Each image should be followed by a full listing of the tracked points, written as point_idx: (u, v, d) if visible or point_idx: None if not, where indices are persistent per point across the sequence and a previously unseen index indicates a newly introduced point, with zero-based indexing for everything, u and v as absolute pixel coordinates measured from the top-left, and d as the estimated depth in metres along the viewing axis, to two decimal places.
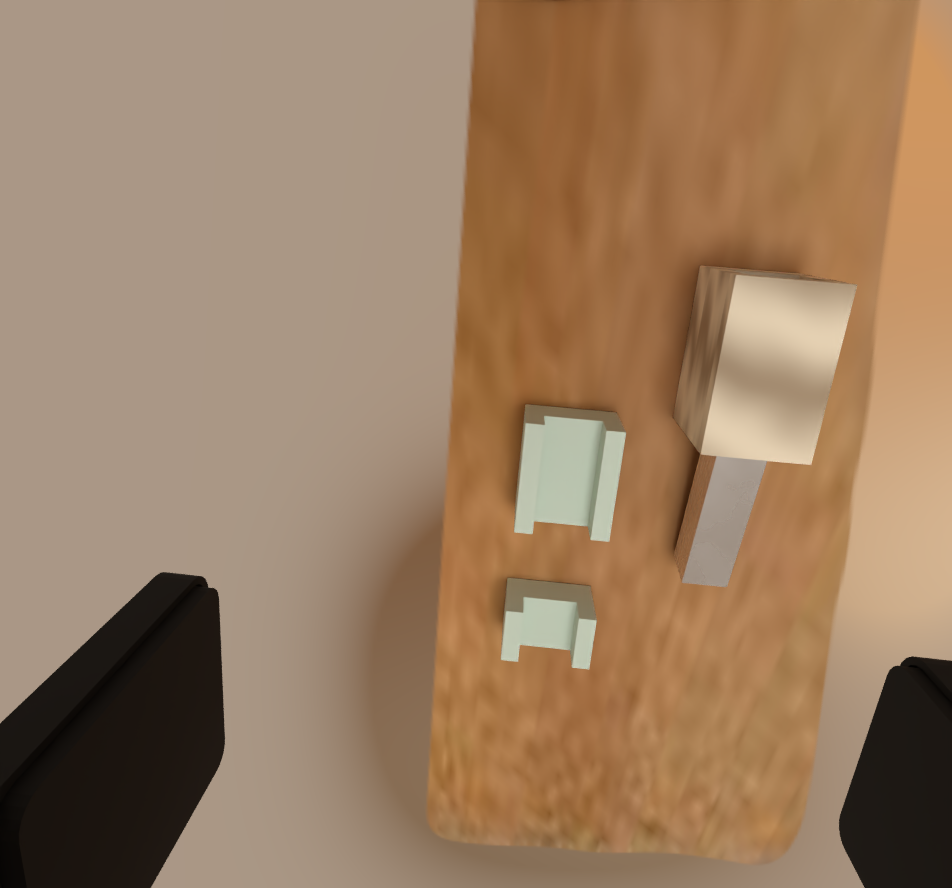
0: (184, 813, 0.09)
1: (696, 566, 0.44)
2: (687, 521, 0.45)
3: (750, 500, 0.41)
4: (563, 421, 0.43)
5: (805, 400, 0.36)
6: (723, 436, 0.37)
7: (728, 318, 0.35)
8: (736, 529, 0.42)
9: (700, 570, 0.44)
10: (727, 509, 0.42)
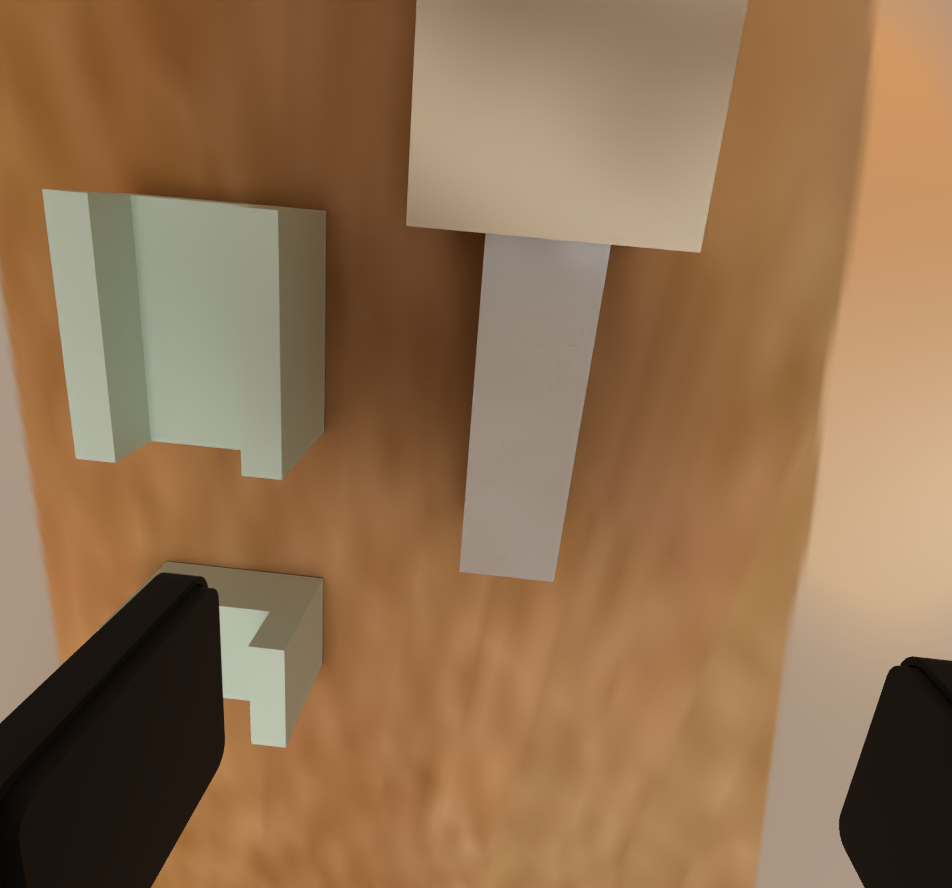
0: (184, 813, 0.09)
1: (483, 537, 0.20)
2: None
3: (578, 378, 0.17)
4: (175, 207, 0.19)
5: (675, 46, 0.13)
6: (460, 169, 0.14)
7: None
8: (556, 451, 0.19)
9: (492, 546, 0.20)
10: (530, 403, 0.18)
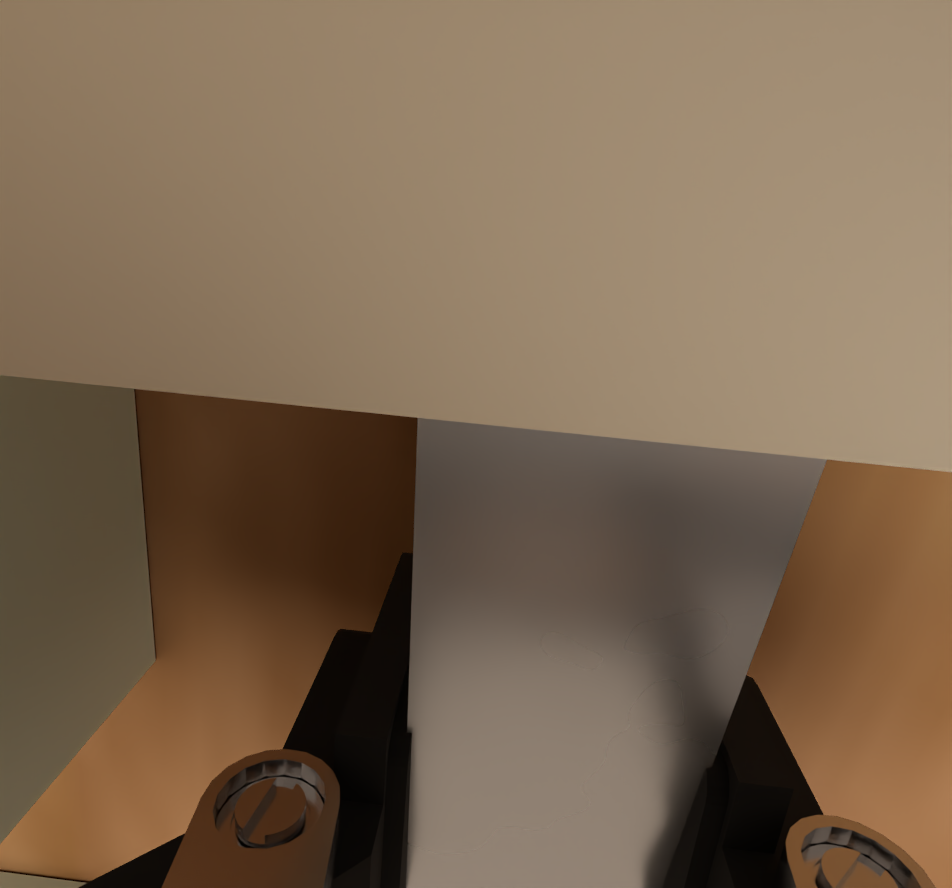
0: None
1: None
2: None
3: (699, 729, 0.06)
4: None
5: None
6: (214, 82, 0.02)
7: None
8: (624, 863, 0.07)
9: None
10: (560, 770, 0.07)
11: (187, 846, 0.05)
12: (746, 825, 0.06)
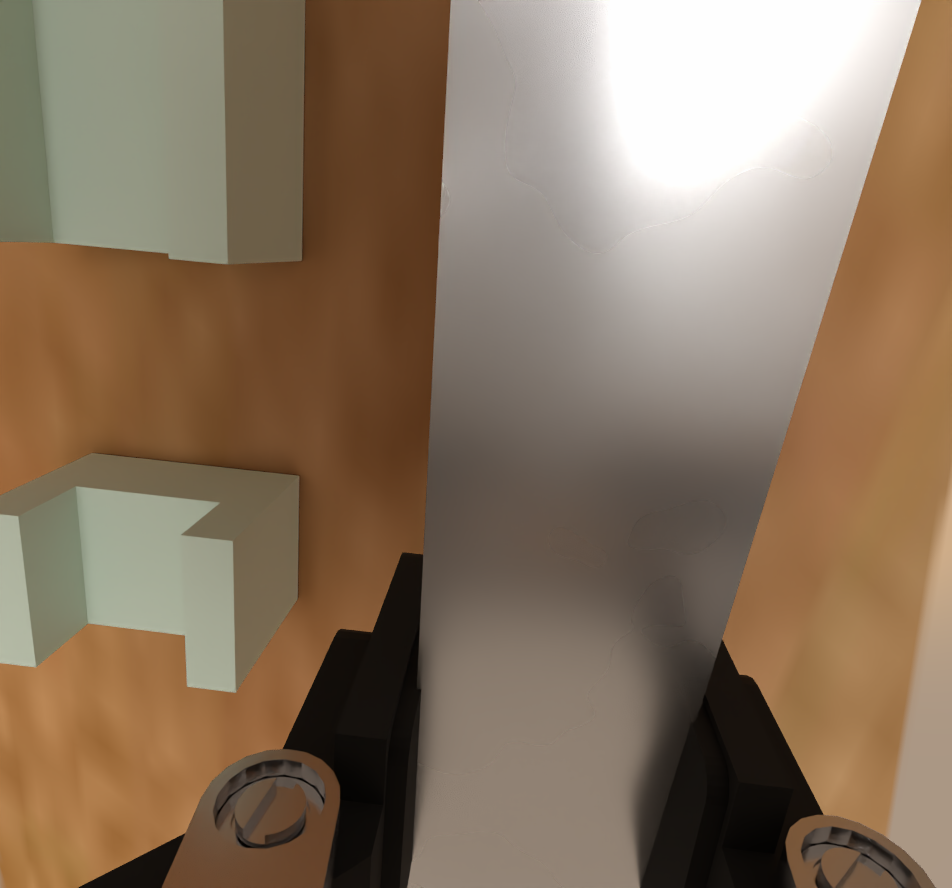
0: None
1: None
2: None
3: (699, 629, 0.07)
4: None
5: None
6: None
7: None
8: (628, 780, 0.08)
9: None
10: (565, 679, 0.07)
11: (188, 846, 0.05)
12: (746, 825, 0.06)
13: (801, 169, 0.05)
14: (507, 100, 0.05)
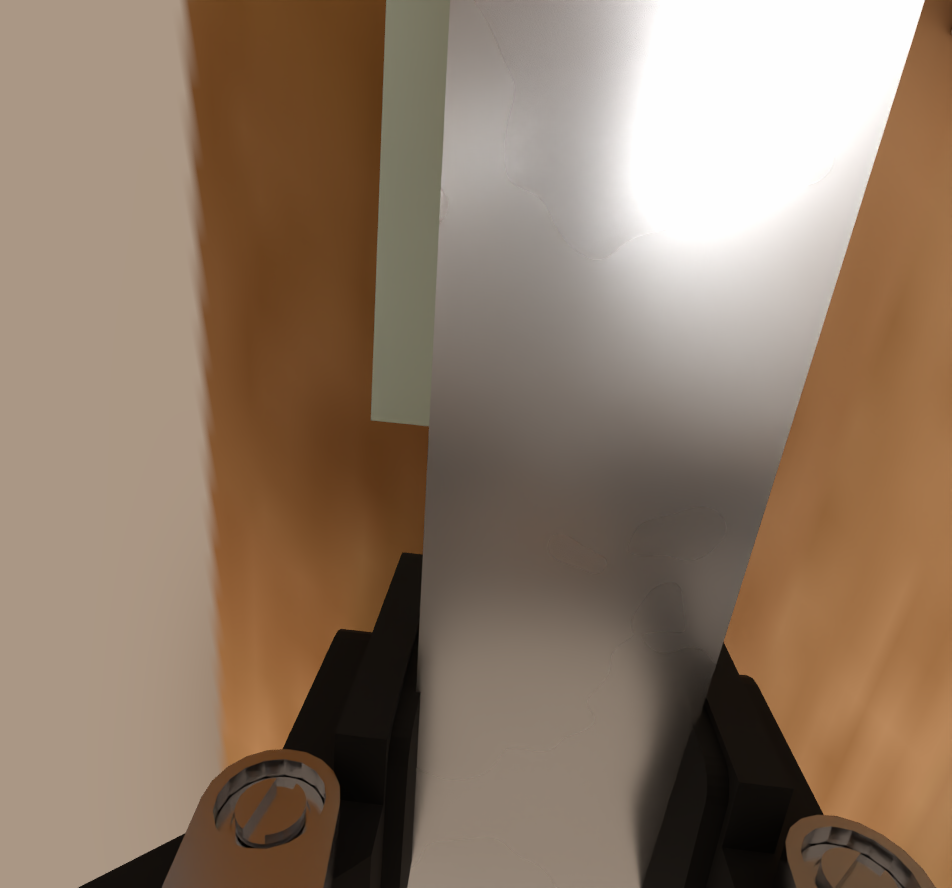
0: None
1: None
2: None
3: (699, 636, 0.06)
4: None
5: None
6: None
7: None
8: (628, 786, 0.07)
9: None
10: (566, 684, 0.07)
11: (188, 845, 0.05)
12: (746, 825, 0.06)
13: (801, 176, 0.05)
14: (506, 108, 0.05)
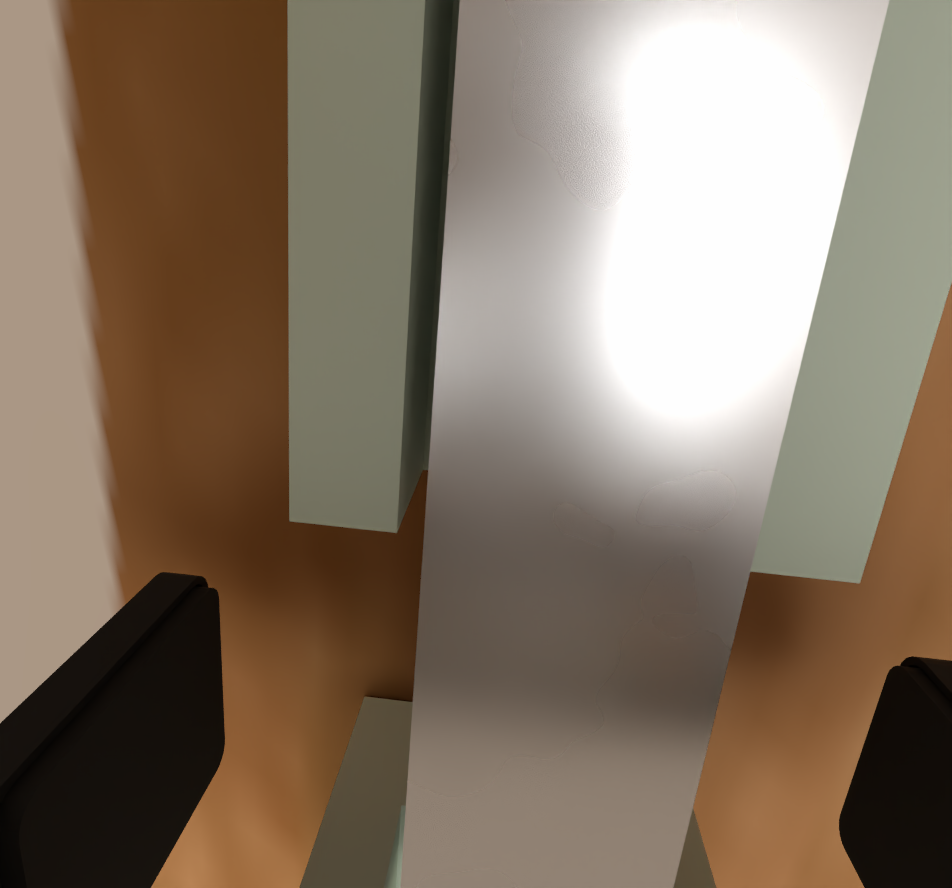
0: (184, 814, 0.09)
1: None
2: None
3: (712, 617, 0.06)
4: None
5: None
6: None
7: None
8: (641, 801, 0.07)
9: None
10: (572, 677, 0.07)
11: None
12: None
13: (794, 126, 0.05)
14: (513, 60, 0.05)
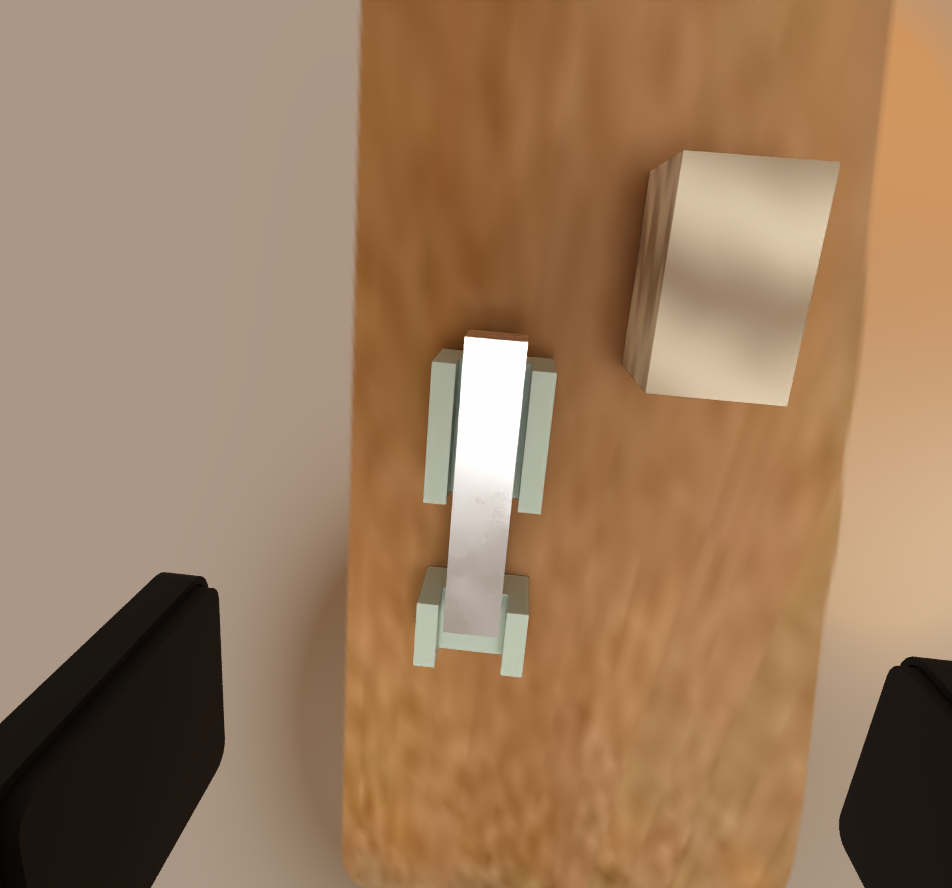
0: (184, 813, 0.09)
1: (456, 609, 0.36)
2: None
3: (505, 518, 0.34)
4: None
5: (777, 319, 0.28)
6: (673, 368, 0.29)
7: (675, 209, 0.27)
8: (495, 557, 0.35)
9: (461, 615, 0.36)
10: (480, 531, 0.34)
11: None
12: None
13: (508, 439, 0.33)
14: (466, 430, 0.33)
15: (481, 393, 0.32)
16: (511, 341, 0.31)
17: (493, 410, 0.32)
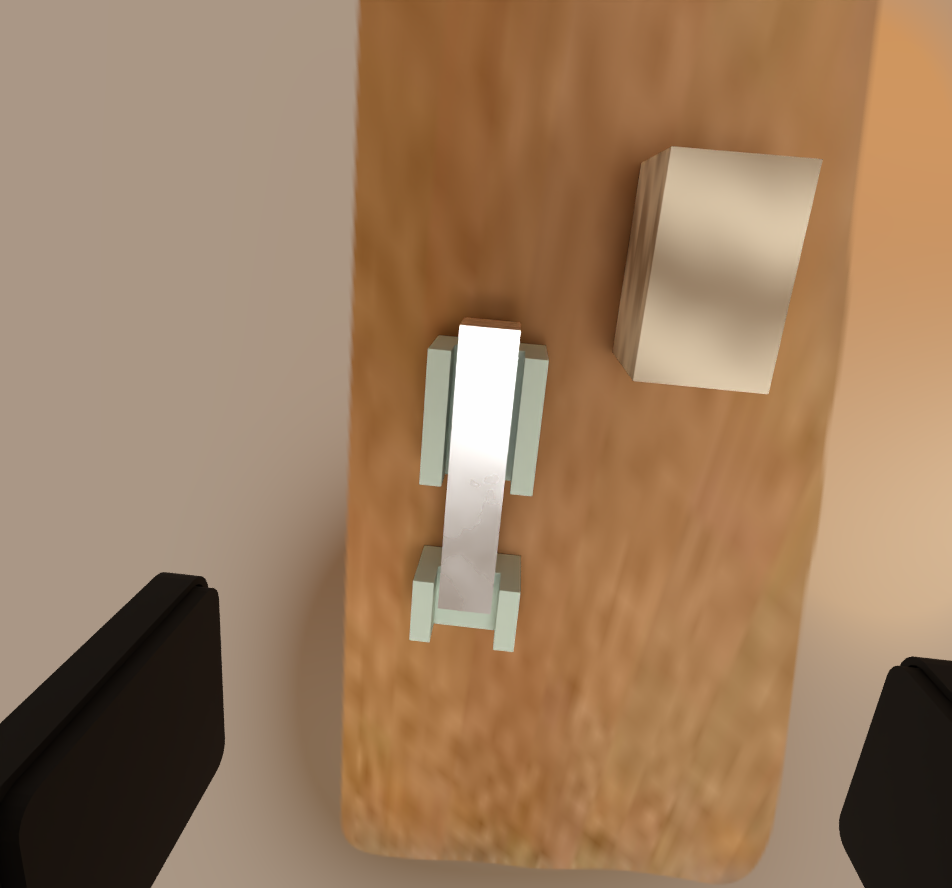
0: (184, 813, 0.09)
1: (451, 586, 0.37)
2: None
3: (497, 500, 0.35)
4: None
5: (759, 310, 0.29)
6: (660, 357, 0.30)
7: (663, 204, 0.28)
8: (488, 537, 0.36)
9: (455, 592, 0.37)
10: (474, 512, 0.36)
11: None
12: None
13: (501, 424, 0.34)
14: (461, 415, 0.34)
15: (475, 379, 0.33)
16: (504, 329, 0.32)
17: (487, 396, 0.33)
